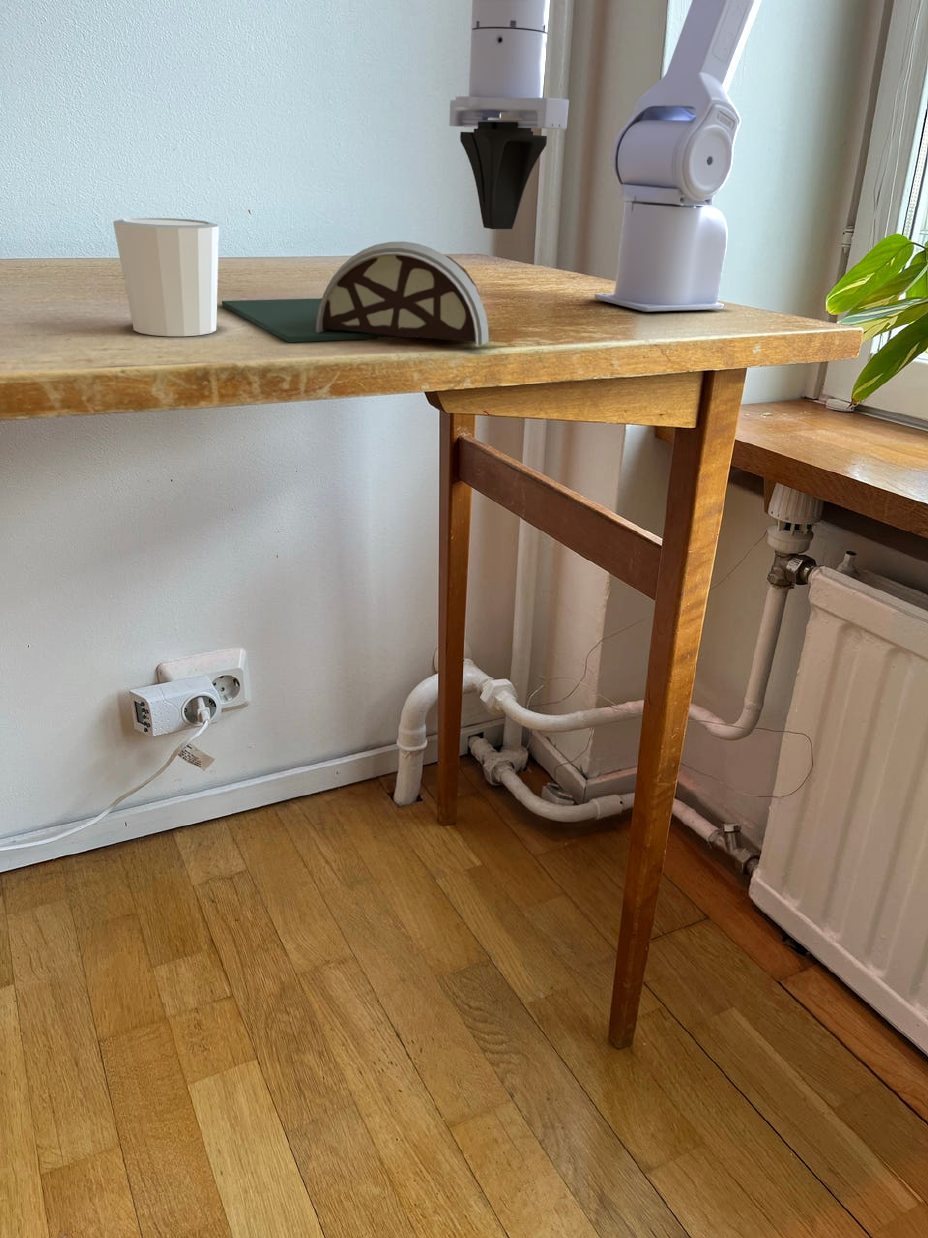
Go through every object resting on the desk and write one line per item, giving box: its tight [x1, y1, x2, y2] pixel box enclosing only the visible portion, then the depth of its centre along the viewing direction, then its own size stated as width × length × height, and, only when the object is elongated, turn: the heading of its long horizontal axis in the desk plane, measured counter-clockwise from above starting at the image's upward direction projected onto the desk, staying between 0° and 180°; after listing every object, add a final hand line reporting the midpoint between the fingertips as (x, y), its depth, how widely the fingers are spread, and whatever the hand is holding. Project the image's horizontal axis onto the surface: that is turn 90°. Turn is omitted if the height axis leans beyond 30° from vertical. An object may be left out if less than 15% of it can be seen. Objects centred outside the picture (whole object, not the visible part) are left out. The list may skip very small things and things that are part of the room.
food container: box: [316, 241, 490, 347], centre depth 68 cm, size 12×6×10 cm
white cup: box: [112, 217, 220, 337], centre depth 65 cm, size 7×7×7 cm
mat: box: [221, 297, 405, 343], centre depth 73 cm, size 12×16×1 cm
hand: (498, 228), depth 77 cm, fingers closed
